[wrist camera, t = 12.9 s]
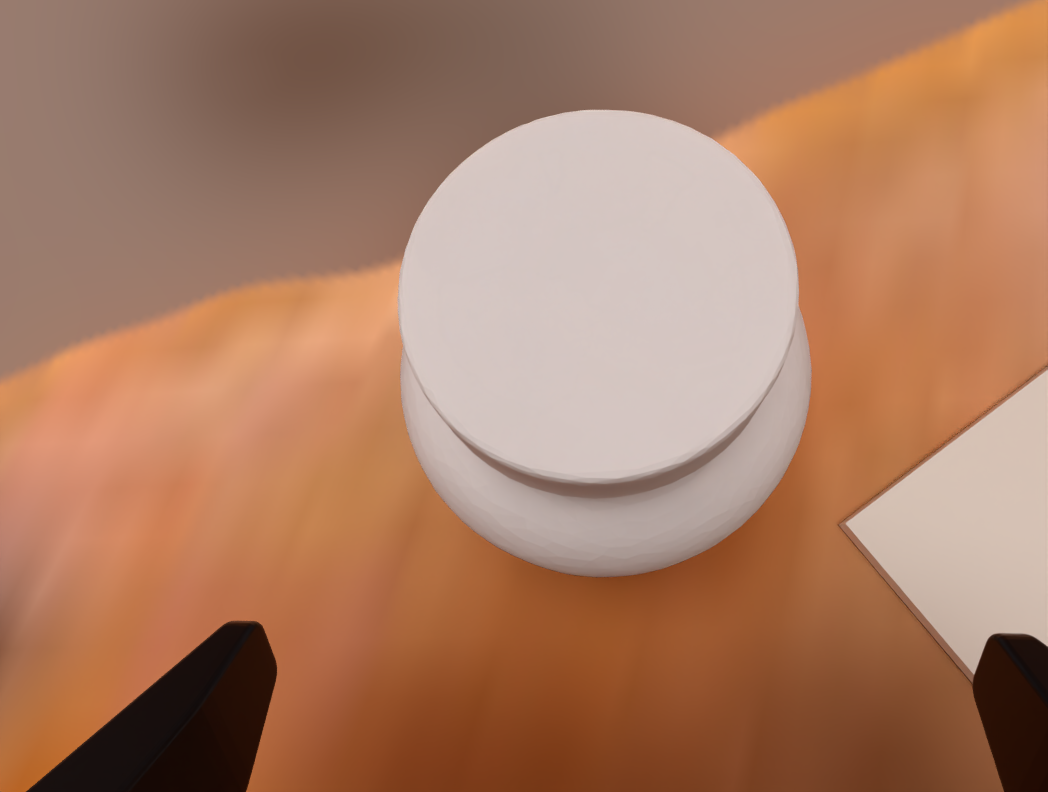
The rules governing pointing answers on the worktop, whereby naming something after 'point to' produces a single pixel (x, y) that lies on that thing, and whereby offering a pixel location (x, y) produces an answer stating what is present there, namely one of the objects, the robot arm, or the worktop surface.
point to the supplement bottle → (603, 343)
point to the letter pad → (970, 530)
